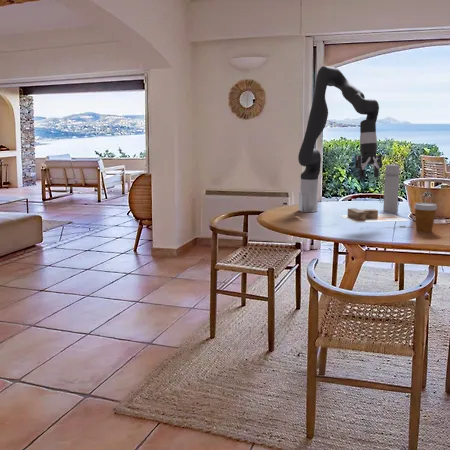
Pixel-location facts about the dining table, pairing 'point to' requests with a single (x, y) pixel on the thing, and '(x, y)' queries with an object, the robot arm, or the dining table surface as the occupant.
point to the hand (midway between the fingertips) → (369, 177)
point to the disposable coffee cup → (425, 216)
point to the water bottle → (391, 188)
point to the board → (379, 218)
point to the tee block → (362, 214)
